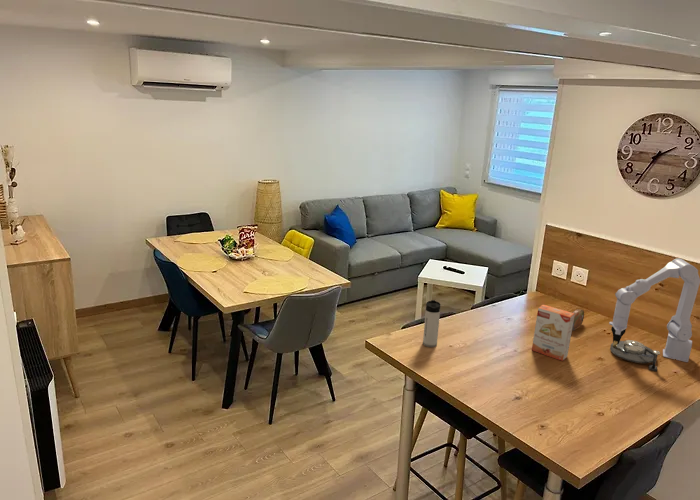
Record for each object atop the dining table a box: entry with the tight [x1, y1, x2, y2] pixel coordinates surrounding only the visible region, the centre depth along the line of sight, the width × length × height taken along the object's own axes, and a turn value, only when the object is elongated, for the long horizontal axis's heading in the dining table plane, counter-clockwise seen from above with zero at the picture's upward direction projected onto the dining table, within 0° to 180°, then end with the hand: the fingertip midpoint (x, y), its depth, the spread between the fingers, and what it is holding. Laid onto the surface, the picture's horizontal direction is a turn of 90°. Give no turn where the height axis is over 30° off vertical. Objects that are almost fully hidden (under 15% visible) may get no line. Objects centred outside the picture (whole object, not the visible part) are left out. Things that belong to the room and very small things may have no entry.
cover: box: [623, 339, 646, 355], centre depth 231 cm, size 8×8×4 cm
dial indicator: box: [644, 348, 661, 372], centre depth 222 cm, size 6×6×8 cm
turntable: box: [609, 340, 654, 364], centre depth 231 cm, size 18×18×4 cm
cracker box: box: [531, 304, 575, 362], centre depth 228 cm, size 14×6×21 cm, turn 49°
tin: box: [571, 308, 585, 331], centre depth 258 cm, size 15×3×8 cm, turn 136°
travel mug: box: [422, 299, 441, 348], centre depth 233 cm, size 6×7×20 cm
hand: (615, 343), depth 234 cm, fingers closed
